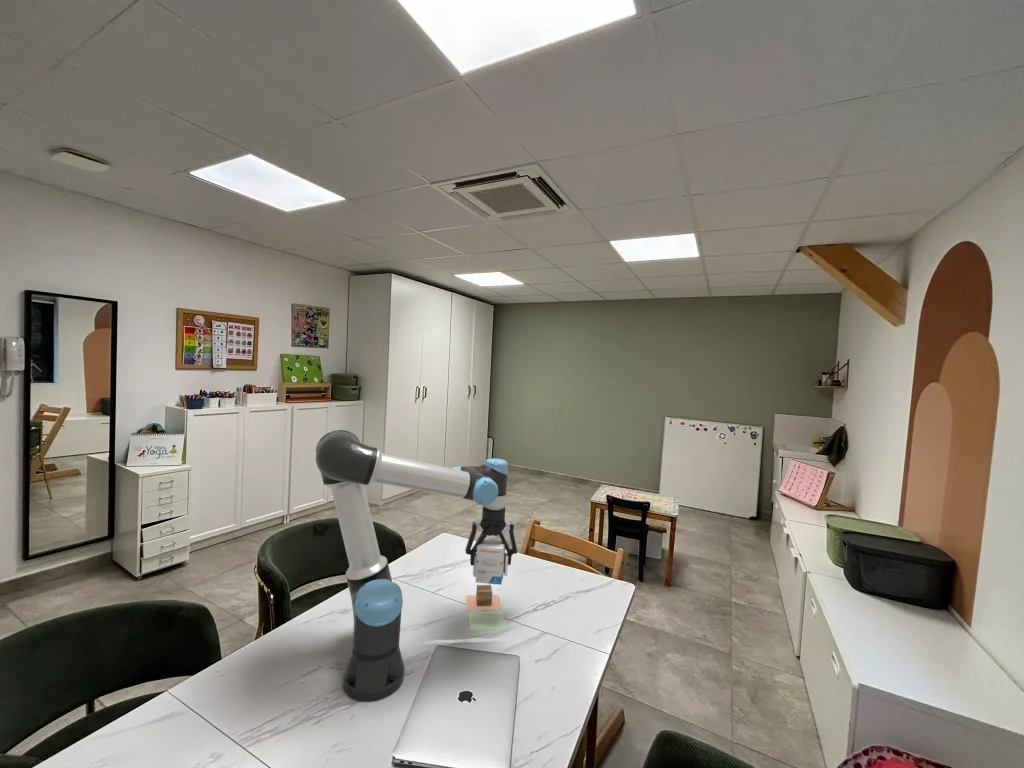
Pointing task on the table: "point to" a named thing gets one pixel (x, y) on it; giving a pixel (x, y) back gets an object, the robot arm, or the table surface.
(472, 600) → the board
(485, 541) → the ink box
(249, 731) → the table surface
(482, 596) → the walnut block
